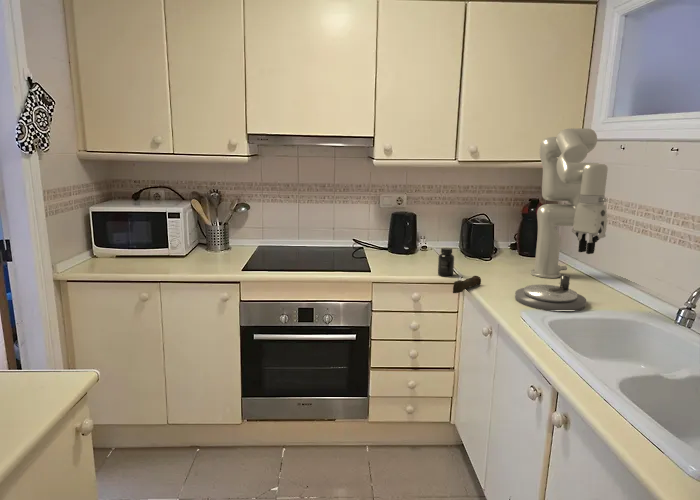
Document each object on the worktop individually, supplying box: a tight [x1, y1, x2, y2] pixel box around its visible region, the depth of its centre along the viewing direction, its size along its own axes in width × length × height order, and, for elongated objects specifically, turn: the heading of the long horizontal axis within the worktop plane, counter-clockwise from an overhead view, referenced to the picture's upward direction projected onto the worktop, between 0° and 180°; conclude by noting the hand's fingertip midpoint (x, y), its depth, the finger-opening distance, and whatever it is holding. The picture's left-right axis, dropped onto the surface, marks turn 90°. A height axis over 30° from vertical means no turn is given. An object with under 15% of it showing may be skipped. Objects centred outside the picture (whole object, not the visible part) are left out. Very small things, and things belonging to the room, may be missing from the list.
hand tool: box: [452, 275, 482, 294], centre depth 189 cm, size 19×4×5 cm, turn 135°
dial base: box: [514, 287, 587, 311], centre depth 174 cm, size 24×24×2 cm
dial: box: [523, 274, 579, 303], centre depth 173 cm, size 18×18×6 cm
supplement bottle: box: [437, 247, 455, 278], centre depth 210 cm, size 7×7×12 cm
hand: (586, 252), depth 167 cm, fingers open, 2 cm apart
